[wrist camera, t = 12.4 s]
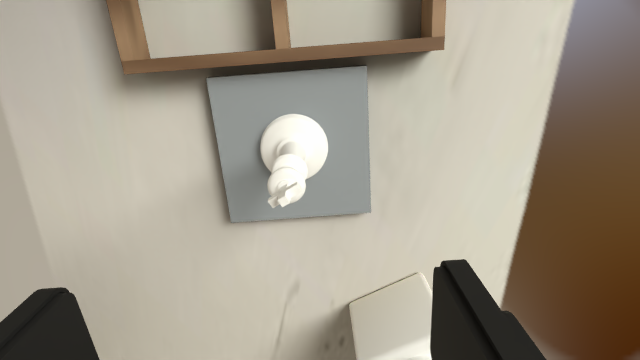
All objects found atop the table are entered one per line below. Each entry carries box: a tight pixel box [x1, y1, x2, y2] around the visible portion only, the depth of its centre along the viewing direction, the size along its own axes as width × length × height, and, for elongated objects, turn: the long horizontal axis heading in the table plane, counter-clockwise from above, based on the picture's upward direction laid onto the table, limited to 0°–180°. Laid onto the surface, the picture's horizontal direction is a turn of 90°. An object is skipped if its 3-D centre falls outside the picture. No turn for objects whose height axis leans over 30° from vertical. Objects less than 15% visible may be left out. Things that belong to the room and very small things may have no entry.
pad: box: [206, 65, 371, 223], centre depth 27 cm, size 11×11×1 cm
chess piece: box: [260, 114, 328, 208], centre depth 22 cm, size 5×5×10 cm
